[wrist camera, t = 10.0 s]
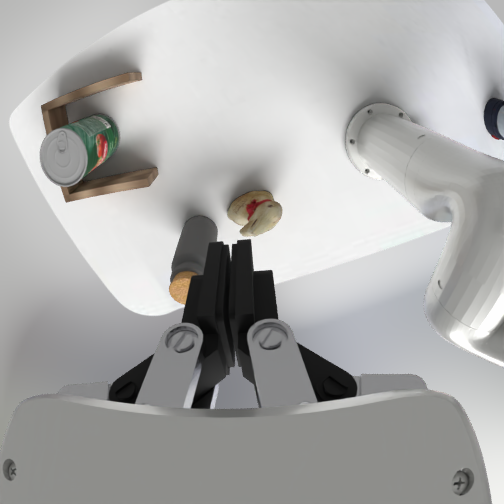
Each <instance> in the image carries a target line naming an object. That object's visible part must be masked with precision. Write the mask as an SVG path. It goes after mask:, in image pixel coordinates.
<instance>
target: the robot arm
mask: <svg viewBox="0 0 504 504" xmlns="http://www.w3.org/2000/svg"><path fill="white" fill-rule="evenodd" d="M368 110H369V112H367V111H368ZM351 139H352V141H351V142H350V140H351ZM346 150H347V153H348V157H349V159H350V160H351V162H352V164H353V165H354V166H355V168H356V169H357V170H359V171H360V172H361V173H362V174H363V175H365V176H367V177H369V178H372V179H376V180H385V181H386V182H387V183H388V184H389V185H390V186H392V187H393V188H394V189H395V190H396V191H397V192H398V193H399V194H400V195H402V196H403V197H404V198H405V199H406V200H407V201H408V202H409V203H410V204H411V205H412V206H413V207H415V208H416V209H417V210H418V211H419V212H420V213H421V214H422V215H424V216H425V217H427V218H428V219H431V220H433V221H437V222H452V224H451V228H450V231H449V234H448V237H447V240H446V244H445V246H444V248H443V251H442V254H441V256H440V258H439V261H438V263H437V265H436V268H435V270H434V272H433V275H432V277H431V279H430V282H429V284H428V287H427V289H426V292H425V297H424V312H425V315H426V318H427V320H428V322H429V323H430V325H431V326H432V328H433V329H434V330H435V331H436V332H437V333H438V334H439V335H440V336H441V337H442V338H444V339H445V340H446V341H448V342H449V343H451V344H453V345H454V346H456V347H458V348H460V349H462V350H464V351H467V352H469V353H471V354H473V355H475V356H478V357H480V358H482V359H484V360H487V361H489V362H491V363H494V364H496V365H498V366H500V367H502V368H504V161H503V160H500V159H497V158H494V157H491V156H489V155H486V154H484V153H481V152H478V151H476V150H474V149H472V148H469V147H467V146H465V145H463V144H461V143H458V142H456V141H454V140H452V139H450V138H448V137H446V136H443V135H441V134H439V133H437V132H434V131H432V130H430V129H427V128H425V127H423V126H420V125H418V124H415V123H413V122H412V121H411V120H410V118H409V117H408V116H407V115H406V113H405V112H403V111H402V110H401V109H399V108H398V107H395V106H393V105H390V104H385V103H375V104H371V105H368V106H366V107H364V108H363V109H361V110H360V111H359V112H358V113H357V114H355V116H354V117H353V119H352V120H351V122H350V124H349V126H348V129H347V133H346ZM365 169H366V170H365ZM235 351H236V356H237V361H238V366H239V367H242V372H243V377H245V378H246V379H247V380H249V381H250V382H251V383H253V384H254V389H255V394H256V398H257V403H258V407H259V408H249V409H248V408H247V409H214V408H215V403H216V399H217V395H218V390H219V382H220V381H221V380H223V379H224V378H225V377H226V375H229V371H230V367H234V366H235ZM0 504H492V501H491V494H490V489H489V483H488V478H487V473H486V468H485V464H484V460H483V456H482V452H481V449H480V446H479V443H478V440H477V437H476V434H475V431H474V429H473V427H472V424H471V422H470V420H469V418H468V416H467V414H466V412H465V410H464V409H463V407H462V406H461V404H460V403H459V402H458V401H457V400H456V399H455V398H454V397H452V396H451V395H449V394H446V393H443V392H439V391H434V390H428V389H427V386H426V383H425V382H424V380H423V379H422V378H420V377H419V376H417V375H412V374H361V376H360V377H359V376H352V375H350V374H349V373H348V372H346V371H344V370H343V369H341V368H339V367H338V366H336V365H334V364H332V363H331V362H329V361H327V360H326V359H324V358H322V357H320V356H319V355H317V354H315V353H314V352H312V351H310V350H309V349H307V348H305V347H304V346H302V345H300V344H299V343H297V342H296V340H295V338H294V334H293V331H292V330H291V328H290V326H289V325H288V324H286V323H285V322H283V321H281V320H278V313H277V304H276V296H275V289H274V280H273V272H272V270H266V271H254V269H253V257H252V246H251V239H248V240H237V244H232V256H231V258H230V251H229V245H224V243H223V241H221V242H209V245H208V251H207V256H206V262H205V267H204V273H203V275H192V277H191V280H190V285H189V289H188V294H187V299H186V303H185V308H184V314H183V318H182V323H179V324H175V325H173V326H172V327H169V328H168V329H167V330H166V331H165V332H164V334H163V335H162V337H161V339H160V342H159V344H158V347H157V349H156V351H155V353H154V354H153V355H151V356H150V357H149V358H147V359H146V360H144V361H143V362H141V363H140V364H138V365H137V366H136V367H134V368H133V369H131V370H130V371H128V372H127V373H125V374H124V375H122V376H121V377H119V378H118V379H117V380H116V381H115V382H113V383H112V384H110V383H109V382H108V381H107V382H97V383H86V384H73V385H66V386H64V387H62V388H61V389H60V390H59V392H58V393H56V394H55V393H53V394H41V395H37V396H32V397H30V398H27V399H25V400H23V401H22V402H21V403H20V404H19V405H18V406H17V407H16V409H15V411H14V413H13V415H12V417H11V419H10V422H9V424H8V427H7V430H6V433H5V436H4V439H3V443H2V446H1V450H0Z"/></svg>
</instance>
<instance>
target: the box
mask: <svg viewBox="0 0 504 504" xmlns="http://www.w3.org/2000/svg"><path fill="white" fill-rule="evenodd" d="M140 80H142V76H141V72H131V73H125V74H122V75H118V76H115V77H112V78H109V79H106V80H103V81H100V82H97V83H94V84H91V85H89V86H86V87H83V88H81V89H78V90H75V91H73V92H70V93H68V94H66V95H63V96H61V97H59V98H56V99H54V100H52V101H50V102H48V103H45V104H43V105H41V109H42V115H43V120H44V125H45V129H46V134H47V135H48V134H49V133H50V132H51V131H53V130H55V129H58V128H60V127H63V126H65V125H68V124H69V123H68V118H67V113H66V108H65V105H66V104H69V103H71V102H74V101H77V100H79V99H82V98H85V97H87V96H90V95H93V94H96V93H99V92H102V91H105V90H108V89H111V88H115V87H118V86H122V85H125V84H129V83H132V82H136V81H140ZM157 176H158V170H157V167H156V168H150V169H145V170H139V171H134V172H128V173H123V174H118V175H113V176H109V177H104V178H100V179H95V180H91V181H86V182H83V180H82V179H81V180H80V181H79V182H78V183H76V184H74V185H72V186H69V187H62V186H61V189H62V192H63V195H64V198H65V201H66V202H70V201H75V200H79V199H84V198H89V197H94V196H99V195H104V194H109V193H115V192H120V191H126V190H131V189H137V188H144V187H149V186H150V185H151V184H152V182H153V181H154V180H155V178H156V177H157Z"/></svg>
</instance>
